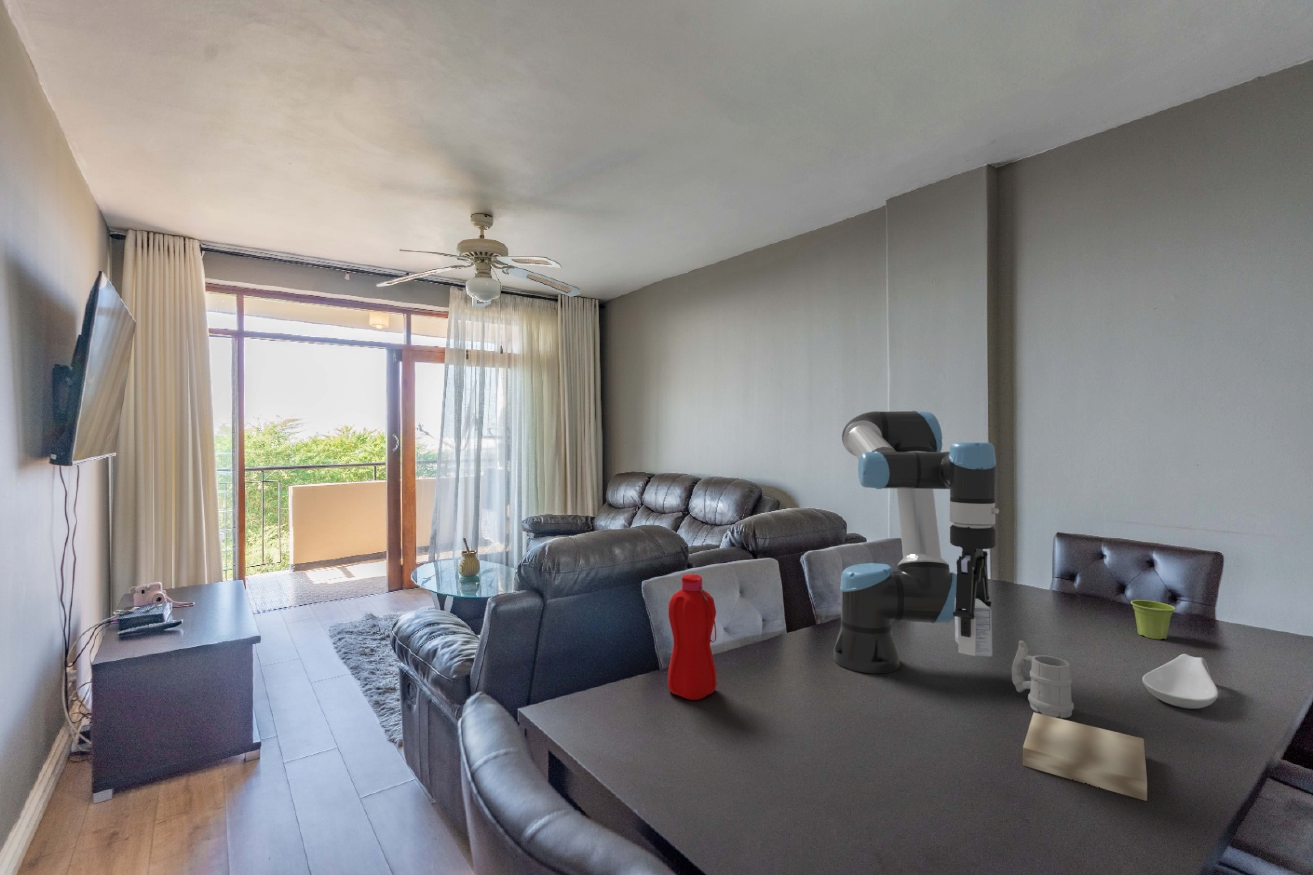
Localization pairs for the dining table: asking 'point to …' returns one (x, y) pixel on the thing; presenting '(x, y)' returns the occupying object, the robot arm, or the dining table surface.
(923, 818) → the dining table surface
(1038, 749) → the birch stand
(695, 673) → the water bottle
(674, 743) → the dining table surface
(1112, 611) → the dining table surface
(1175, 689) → the spoon rest
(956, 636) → the medicine box
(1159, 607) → the plant pot
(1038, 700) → the mug
